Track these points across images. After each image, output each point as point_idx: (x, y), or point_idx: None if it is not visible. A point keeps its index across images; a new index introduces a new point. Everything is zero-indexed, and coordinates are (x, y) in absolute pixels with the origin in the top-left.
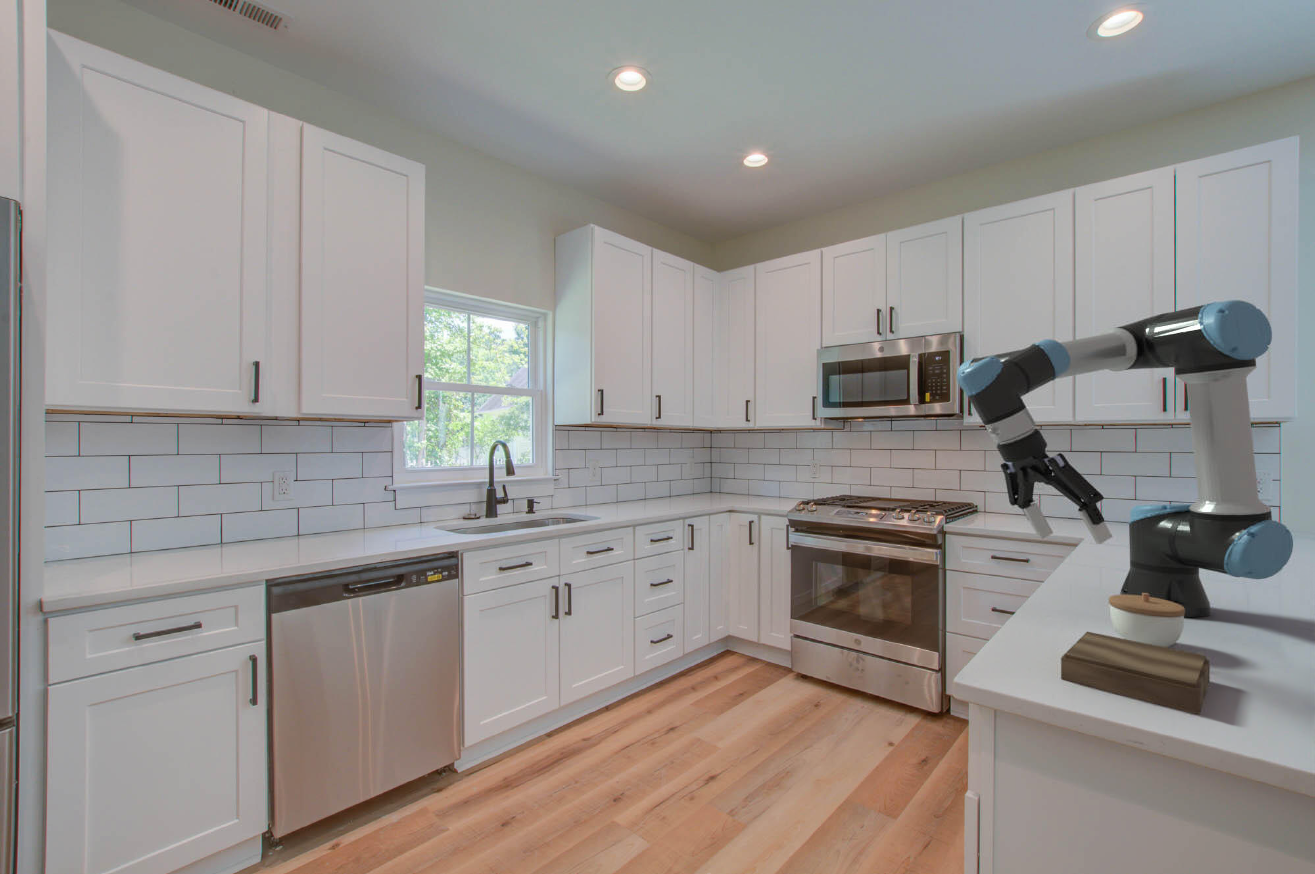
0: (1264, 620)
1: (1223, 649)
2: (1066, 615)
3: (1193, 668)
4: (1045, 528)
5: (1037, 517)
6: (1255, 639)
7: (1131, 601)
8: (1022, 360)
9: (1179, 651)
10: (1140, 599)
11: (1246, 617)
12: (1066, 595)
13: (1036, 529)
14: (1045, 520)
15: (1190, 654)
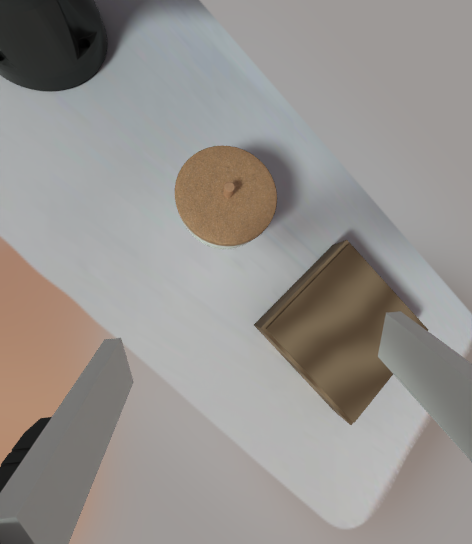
0: None
1: (239, 137)
2: (82, 233)
3: (388, 294)
4: (113, 377)
5: (87, 444)
6: (203, 62)
7: (228, 217)
8: None
9: (338, 263)
10: (215, 190)
11: None
12: None
13: (115, 420)
14: (96, 389)
15: (347, 258)
